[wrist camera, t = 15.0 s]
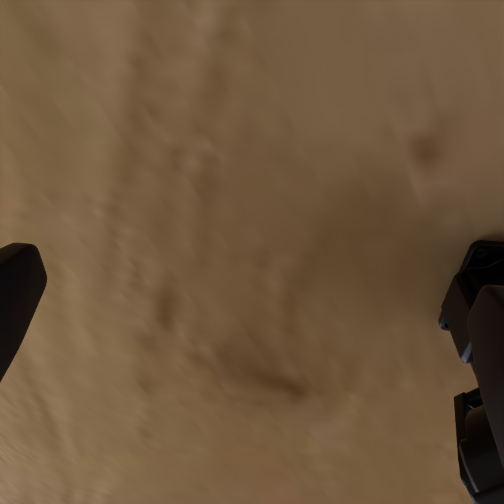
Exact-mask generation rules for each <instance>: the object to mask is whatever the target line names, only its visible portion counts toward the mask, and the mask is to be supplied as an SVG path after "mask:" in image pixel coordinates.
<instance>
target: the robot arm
mask: <svg viewBox="0 0 504 504" xmlns="http://www.w3.org/2000/svg"><path fill="white" fill-rule="evenodd" d="M483 248H484V249H483ZM479 249H483V250H482V251H480V252H477V251H478V250H479ZM46 283H47V274H46V271H45V268H44V265H43V262H42V259H41V256H40V253H39V250H38V248H37V247H36V246H35V245H33V244H26V243H12V244H10V245H7V246H5V247H3V248H1V249H0V382H1V380H2V378H3V376H4V375H5V373H6V371H7V369H8V368H9V366H10V364H11V362H12V360H13V359H14V357H15V355H16V353H17V351H18V349H19V347H20V345H21V343H22V341H23V339H24V336H25V334H26V332H27V329H28V327H29V325H30V322H31V320H32V318H33V315H34V313H35V311H36V308H37V306H38V303H39V301H40V299H41V296H42V294H43V292H44V289H45V287H46ZM441 308H442V312H441V315H440V317H439V319H438V322H439V325H440V327H441V329H443V330H448V331H450V332H451V335H452V338H453V340H454V343H455V346H456V348H457V351H458V354H459V356H460V358H461V360H462V361H463V362H464V363H470V364H471V366H472V369H473V371H474V374H475V376H476V379H477V381H478V385H479V387H478V388H476V389H474V390H472V391H470V392H468V393H465V392H463V393H461V394H459V395H457V396H455V397H454V406H455V421H456V435H457V449H458V461H459V468H460V477H461V480H462V482H463V483H464V485H465V486H466V488H467V490H468V492H469V494H470V496H471V498H472V500H473V502H474V504H504V242H496V241H485V240H480V241H476V242H474V243H473V244H471V246H470V247H469V250H468V252H467V254H466V257H465V259H464V261H463V264H462V266H461V268H460V271H459V273H457V274H456V275H455V276H454V278H453V280H452V282H451V285H450V287H449V289H448V292H447V294H446V296H445V299H444V301H443V304H442V306H441ZM446 322H447V323H446Z"/></svg>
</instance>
